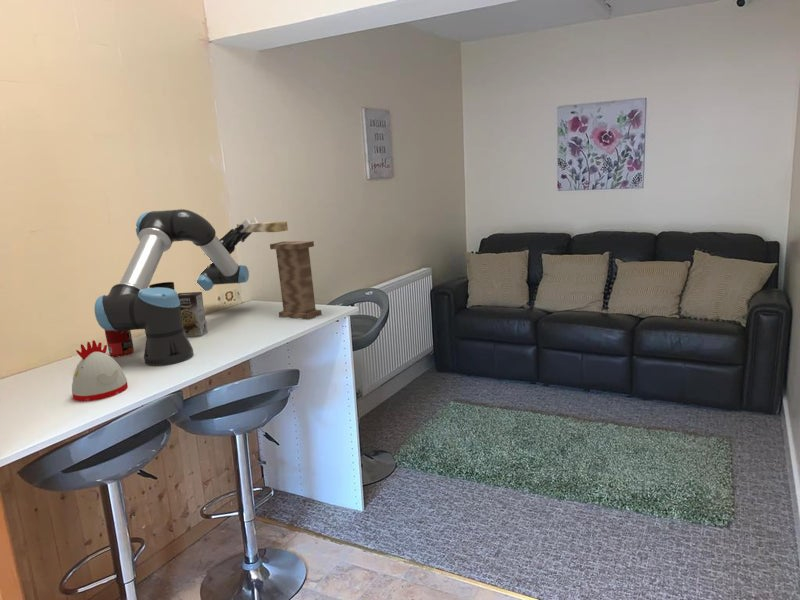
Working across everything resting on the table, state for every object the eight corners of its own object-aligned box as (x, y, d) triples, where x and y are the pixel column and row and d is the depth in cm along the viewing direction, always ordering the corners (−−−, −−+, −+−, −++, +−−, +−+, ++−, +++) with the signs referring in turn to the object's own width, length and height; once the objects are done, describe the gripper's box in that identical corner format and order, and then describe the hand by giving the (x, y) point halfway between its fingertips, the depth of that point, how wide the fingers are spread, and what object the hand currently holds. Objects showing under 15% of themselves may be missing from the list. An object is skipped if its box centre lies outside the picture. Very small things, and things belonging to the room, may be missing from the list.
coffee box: (178, 338, 218) (171, 296, 215) (185, 333, 225) (178, 292, 221) (201, 336, 218) (195, 294, 214) (208, 332, 224) (202, 290, 221)
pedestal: (279, 317, 240) (269, 244, 233) (292, 312, 246) (283, 241, 240) (308, 319, 231) (299, 244, 225) (321, 314, 238) (313, 241, 231)
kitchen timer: (64, 396, 163) (53, 345, 160) (111, 380, 174) (101, 332, 171) (89, 404, 155) (78, 350, 152) (137, 387, 166) (128, 336, 163)
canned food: (128, 356, 199) (122, 325, 197) (105, 357, 199) (99, 326, 197) (138, 349, 207) (132, 319, 204) (116, 351, 207) (110, 321, 205)
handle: (235, 232, 244) (234, 224, 243) (246, 231, 249) (245, 222, 248) (277, 232, 231) (276, 223, 230) (288, 230, 236) (286, 221, 235)
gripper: (203, 244, 248) (232, 215, 235) (233, 239, 262) (262, 211, 248) (211, 259, 247) (241, 231, 234) (241, 253, 261) (271, 226, 248)
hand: (252, 221), depth 241 cm, fingers closed on handle, 3 cm apart
